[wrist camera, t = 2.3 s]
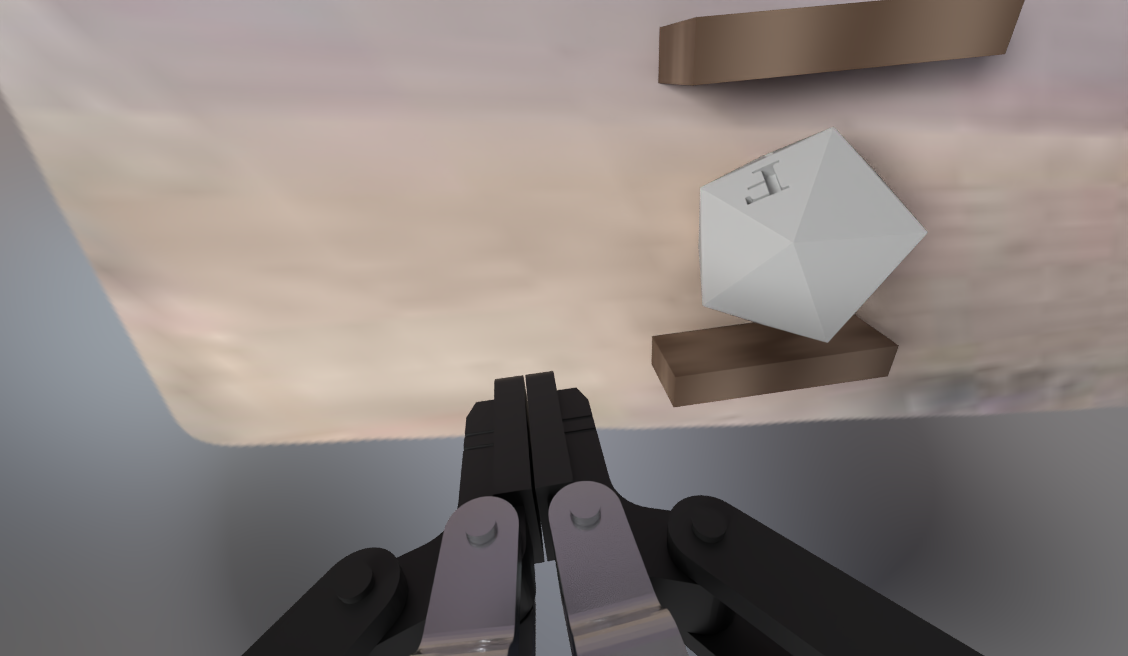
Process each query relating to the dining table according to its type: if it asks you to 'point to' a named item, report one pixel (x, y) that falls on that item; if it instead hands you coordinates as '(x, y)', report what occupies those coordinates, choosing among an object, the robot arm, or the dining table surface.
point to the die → (801, 237)
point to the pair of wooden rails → (793, 47)
